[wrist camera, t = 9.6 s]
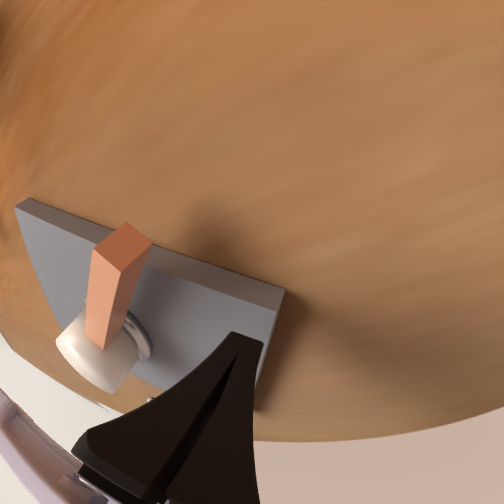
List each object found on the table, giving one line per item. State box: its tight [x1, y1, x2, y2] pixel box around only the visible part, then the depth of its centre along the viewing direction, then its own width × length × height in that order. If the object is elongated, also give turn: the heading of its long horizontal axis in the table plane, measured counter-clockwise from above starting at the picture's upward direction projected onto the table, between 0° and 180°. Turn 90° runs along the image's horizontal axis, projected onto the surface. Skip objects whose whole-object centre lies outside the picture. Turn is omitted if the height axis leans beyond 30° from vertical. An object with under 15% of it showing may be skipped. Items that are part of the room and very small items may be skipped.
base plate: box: [14, 198, 286, 392], centre depth 18 cm, size 14×20×2 cm
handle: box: [56, 222, 153, 393], centre depth 14 cm, size 13×5×3 cm, turn 148°
